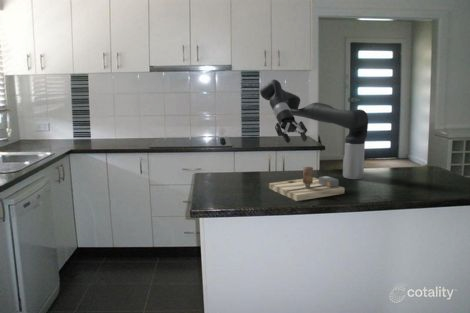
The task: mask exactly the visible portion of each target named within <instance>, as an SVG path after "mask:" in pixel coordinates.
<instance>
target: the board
mask: <svg viewBox="0 0 470 313" xmlns="http://www.w3.org/2000/svg"><path fill="white" fill-rule="evenodd" d="M268 189H269V190H272V191H273V192H276V193H278V194H280V195H282V196H285V197H286V198H289V199H291V200H293V201H295V202H299V201H306V200H312V199H317V198H324V197H325V198H326V197H331V196H336V195H337V196H338V195H343V194H344V195H345V187H343V186H340V185H338V187H331V188H330V187H327V186H325V185H321V184H319V178H317V177H315V176H313V183H311V185H310V189H305V183H303V178H299V179H298V178H297V179H291V180H285V181H284V180H283V181H275V182H270V183H268Z"/></svg>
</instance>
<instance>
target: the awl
mask: <svg viewBox="0 0 470 313" xmlns="http://www.w3.org/2000/svg"><path fill="white" fill-rule="evenodd" d="M302 171H303V172H302V179H303V183H305V189H310V185H311V183H313V177H314V176H313V175H314V167H311V166H304V167H303V168H302Z"/></svg>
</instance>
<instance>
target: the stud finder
mask: <svg viewBox="0 0 470 313" xmlns="http://www.w3.org/2000/svg"><path fill="white" fill-rule="evenodd" d="M318 179H319V184H321V185H325V186H327V187H330V188H331V187H338V186H340V185H339V183H340V182H339V181H340V180H339V178H335V177H332V176H328V175H325V176H318Z"/></svg>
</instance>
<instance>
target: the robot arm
mask: <svg viewBox="0 0 470 313" xmlns="http://www.w3.org/2000/svg"><path fill="white" fill-rule="evenodd" d="M259 94H260V96H261V97H262V98H263V99H264V100H265V101H269V105H270V107H271V109H272V111H273V114H274V116H275V118H276V121H277V122H276V124H275V125H274V128H275V131H276V134H277V136H278V137H282V138H283V140H284V141H285V142H286V143H287V144H290V142H291V138H290V136H289V134H290V133H295V134H296V135H300V137H301V139H302V141H303V142H306V141H307V140H308V137H307V135H306V134H307V132H308V128H307V127H306V125H305V124H304V123H303V122H304V121H299V122H297V121H296V119H295V117H302V118H306V119H309V120H313V121H316V122H320V123H321V122H322V123H328V124H333V125H337V126H340V127H342V128H346V129H348V130H350V131H349V133H348V135H346V136H345V139H344V157H343V159H342V176H343V178H345V179H349V180H361V179H364V173H365V172H364V168H365V167H364V166H365V145H366V139H367V136H368V128H369V117H368V114H367V112H366V111H365V110H364V109H351V110H345V109H338V108H335V107H333V106H331V105H330V104H326V103H322V102H312V103H310V104H308V105H306V106H303V107H302V108H301V107H300V108H299V106H300V104H301V98H300V96H298V95H296V94H293V93H291V92H289V91H286V90H284V89H283V87H282V84H281V82H280V81H279V80H277V79H272V80H269V81H268V82H267V83H266V84H264V85H263V86H261V87H260V90H259ZM288 133H289V134H288Z"/></svg>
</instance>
